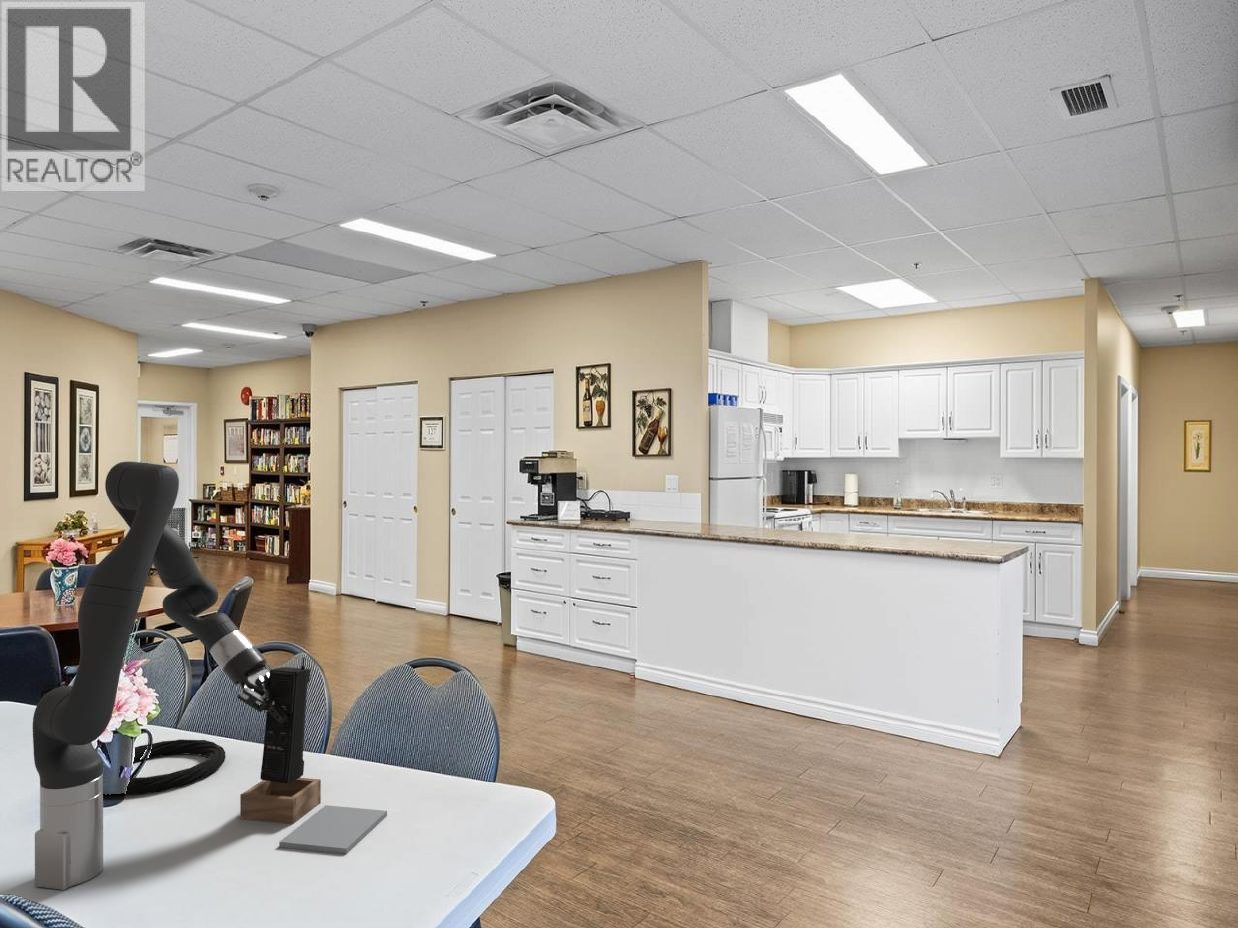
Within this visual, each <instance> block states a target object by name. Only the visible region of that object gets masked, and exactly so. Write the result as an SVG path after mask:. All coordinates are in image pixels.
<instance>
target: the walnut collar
mask: <svg viewBox="0 0 1238 928" xmlns="http://www.w3.org/2000/svg"><path fill="white" fill-rule="evenodd" d="M321 781H322V779H320V778H319V779H318V778H307V777H300V778H298V779H296V780H294V781H291V782H289V783H281V782H273V781H266V780H261V781H259V782H258V783H256V784H255V785H253V786H252V787H250V788H248V789H247V790H245V791H244V792H242V793H240V796H239V797H240V805H239V806H240V810H239V811H240V814H239V816H240V820H249V821H261V822H267V823H268V822H269V823H281V824H290V825H291V824H292V825H293V824H295V823H297V821H299V820H300V819H302V818H303V817H304V816H305V815H306V814H308V813H309V812H310V811H312V810H313V809H314V808H315V807H317V806H318V805H319V804H321V802H322V799H321V797H322V795H321V793H322V792H321V791H322V789H321V788H322V786H321V785H322V783H321Z"/></svg>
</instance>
